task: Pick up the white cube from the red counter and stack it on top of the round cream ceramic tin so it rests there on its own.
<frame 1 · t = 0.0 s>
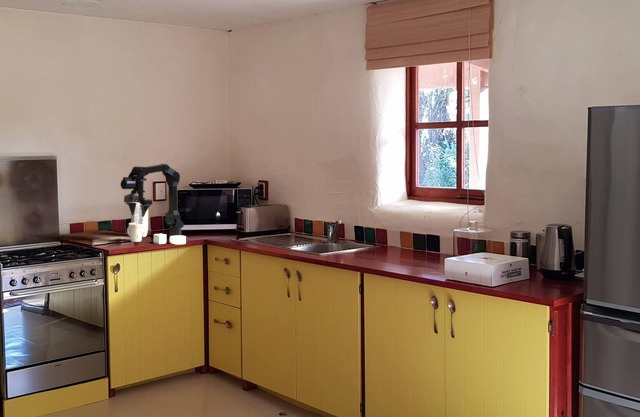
hand: (137, 216, 427), 15 cm above the worktop, fingers open, 9 cm apart
white cube: (159, 243, 426), on the worktop
cream tin: (177, 243, 428), on the worktop
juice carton: (139, 236, 448), on the worktop
mug: (133, 240, 431), on the worktop
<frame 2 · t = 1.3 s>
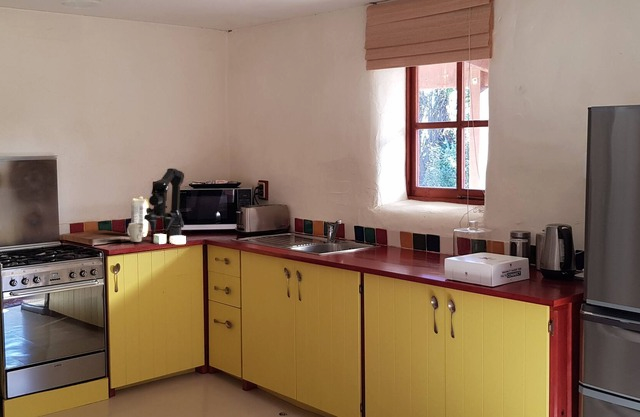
hand: (160, 231, 425), 7 cm above the worktop, fingers open, 9 cm apart
nothing on the worktop moved.
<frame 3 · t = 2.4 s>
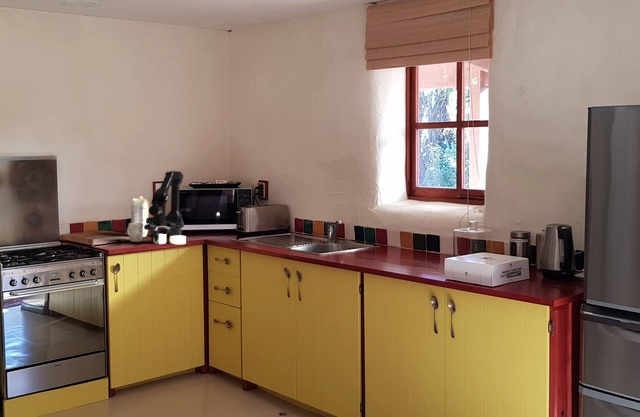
hand: (159, 241, 426), 1 cm above the worktop, fingers closed on white cube, 5 cm apart
white cube: (159, 243, 426), on the worktop, touching gripper
everything else where it was.
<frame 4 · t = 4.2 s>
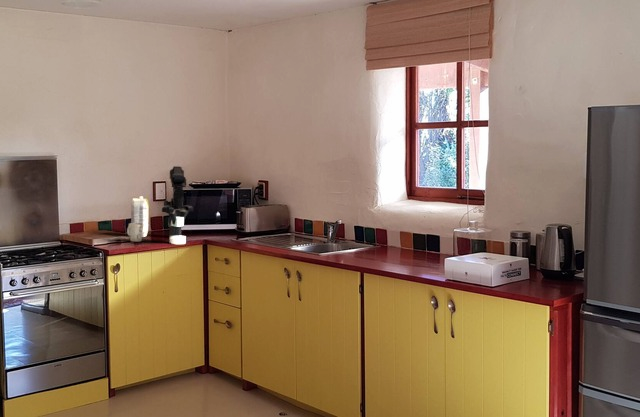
hand: (177, 224, 427), 11 cm above the worktop, fingers closed on white cube, 5 cm apart
white cube: (177, 225, 427), point 10 cm above the worktop, touching gripper
everything else where it was.
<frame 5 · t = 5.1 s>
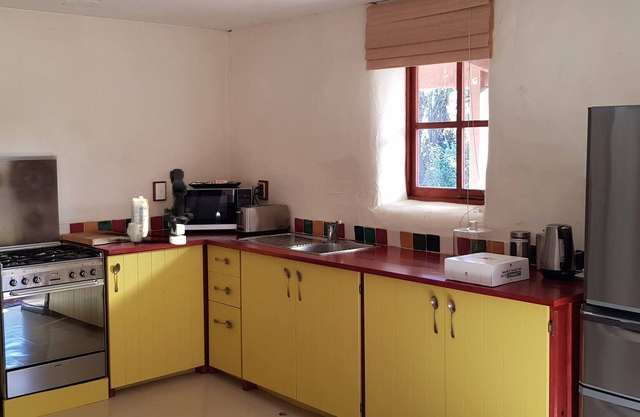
hand: (177, 231, 428), 7 cm above the worktop, fingers closed on white cube, 5 cm apart
white cube: (177, 233, 428), point 5 cm above the worktop, touching gripper
everything else where it was.
when the fingers open (6 cm above the worktop, at t = 5.8 s): white cube drops 2 cm, resting on cream tin.
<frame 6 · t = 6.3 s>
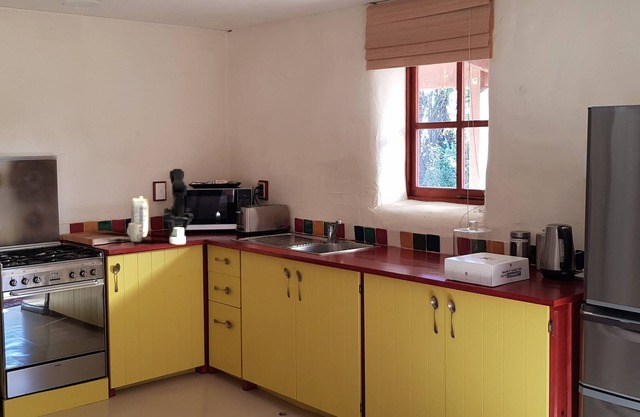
hand: (177, 231, 428), 6 cm above the worktop, fingers open, 9 cm apart
white cube: (177, 236, 428), point 4 cm above the worktop, touching cream tin
cream tin: (177, 243, 428), on the worktop, touching white cube
everything else where it was.
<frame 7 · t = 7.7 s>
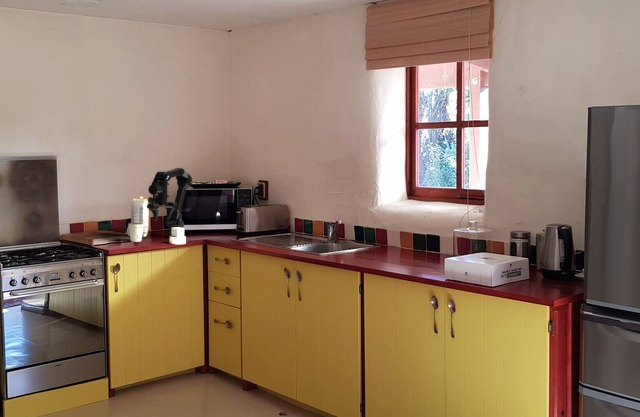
hand: (161, 220, 435), 12 cm above the worktop, fingers open, 9 cm apart
nothing on the worktop moved.
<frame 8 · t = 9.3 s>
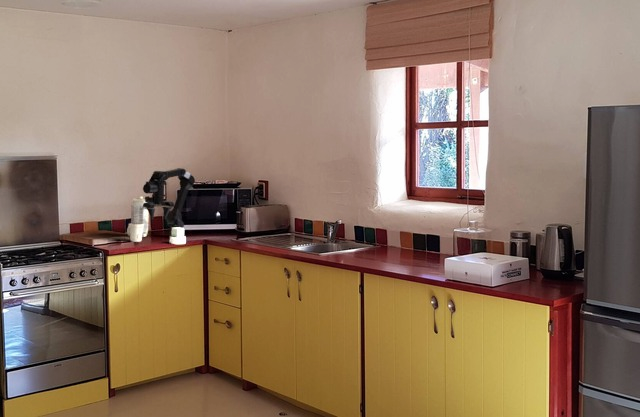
hand: (158, 219, 436), 12 cm above the worktop, fingers open, 9 cm apart
nothing on the worktop moved.
at the end: white cube 0.0 cm off-centre on the cream tin, point 4.0 cm above the cream tin's base; white cube tilted 0°; the gripper is holding nothing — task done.
